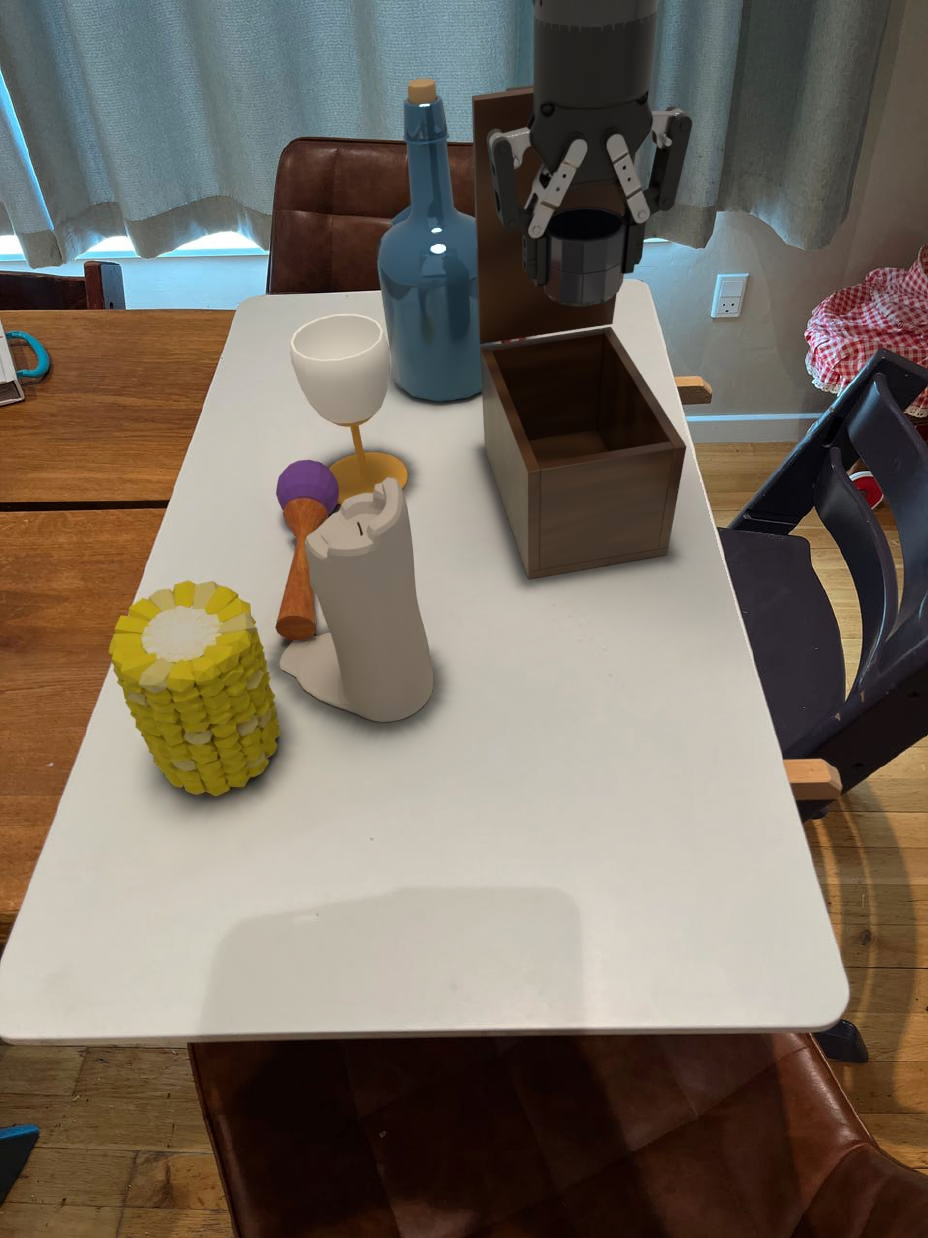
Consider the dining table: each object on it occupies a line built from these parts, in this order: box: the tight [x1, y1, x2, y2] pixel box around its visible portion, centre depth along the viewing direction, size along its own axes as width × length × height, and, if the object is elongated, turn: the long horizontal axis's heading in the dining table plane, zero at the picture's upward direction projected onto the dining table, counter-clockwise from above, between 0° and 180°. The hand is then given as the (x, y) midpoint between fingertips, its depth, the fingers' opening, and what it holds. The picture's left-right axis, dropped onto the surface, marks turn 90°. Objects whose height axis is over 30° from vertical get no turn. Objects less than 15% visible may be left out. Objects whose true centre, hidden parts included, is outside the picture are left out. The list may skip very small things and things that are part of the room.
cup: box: [289, 313, 409, 506], centre depth 76 cm, size 9×9×16 cm
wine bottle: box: [375, 77, 502, 403], centre depth 83 cm, size 14×13×30 cm
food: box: [108, 579, 281, 797], centre depth 55 cm, size 15×12×10 cm
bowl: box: [541, 206, 628, 306], centre depth 59 cm, size 6×6×5 cm
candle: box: [279, 477, 435, 723], centre depth 57 cm, size 7×14×20 cm, turn 65°
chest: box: [480, 326, 687, 580], centre depth 73 cm, size 20×13×12 cm, turn 10°
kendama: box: [275, 459, 339, 641], centre depth 72 cm, size 6×6×20 cm
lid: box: [471, 84, 637, 344], centre depth 67 cm, size 21×13×5 cm
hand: (581, 274), depth 60 cm, fingers closed on bowl, 6 cm apart
